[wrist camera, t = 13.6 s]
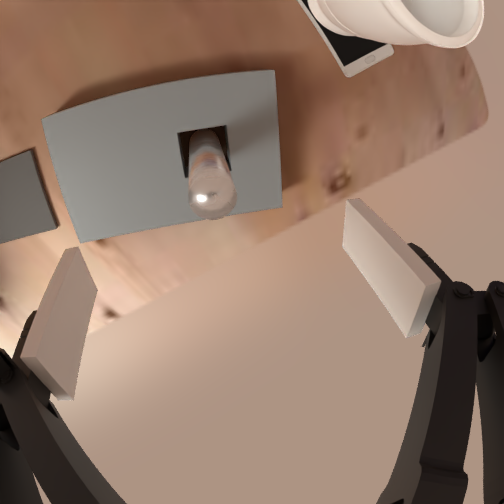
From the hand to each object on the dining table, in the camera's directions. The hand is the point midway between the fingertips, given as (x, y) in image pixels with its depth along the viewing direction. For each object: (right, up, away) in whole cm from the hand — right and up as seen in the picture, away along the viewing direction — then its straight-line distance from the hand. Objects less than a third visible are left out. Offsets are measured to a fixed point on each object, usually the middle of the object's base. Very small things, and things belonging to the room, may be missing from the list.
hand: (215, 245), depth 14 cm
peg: (-3, +11, +16) cm, 19 cm away
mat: (-27, +6, +14) cm, 31 cm away
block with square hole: (-7, +10, +15) cm, 20 cm away
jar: (+11, +26, +9) cm, 30 cm away
